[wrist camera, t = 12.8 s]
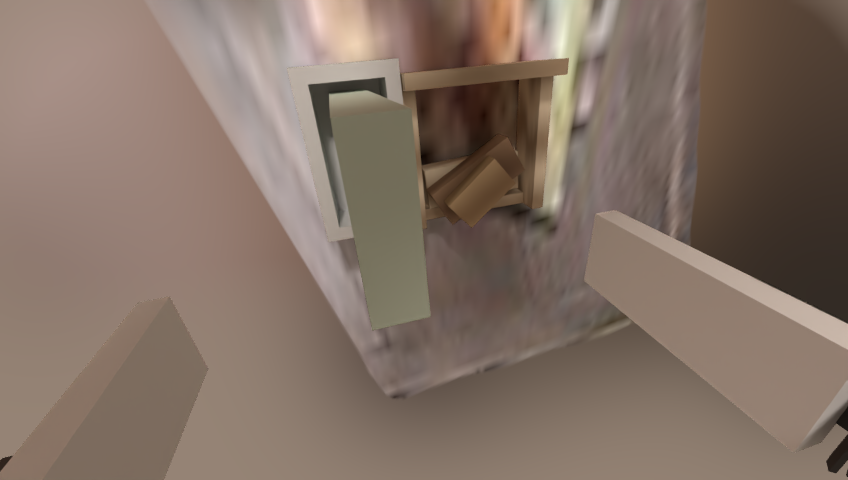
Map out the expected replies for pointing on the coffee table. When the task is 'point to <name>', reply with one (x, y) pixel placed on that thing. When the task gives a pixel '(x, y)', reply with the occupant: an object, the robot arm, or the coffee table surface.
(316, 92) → the bin
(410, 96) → the rack
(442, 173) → the offcut birch
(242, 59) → the coffee table surface
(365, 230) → the grey-green flat block
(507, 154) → the offcut walnut
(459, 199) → the offcut oak
